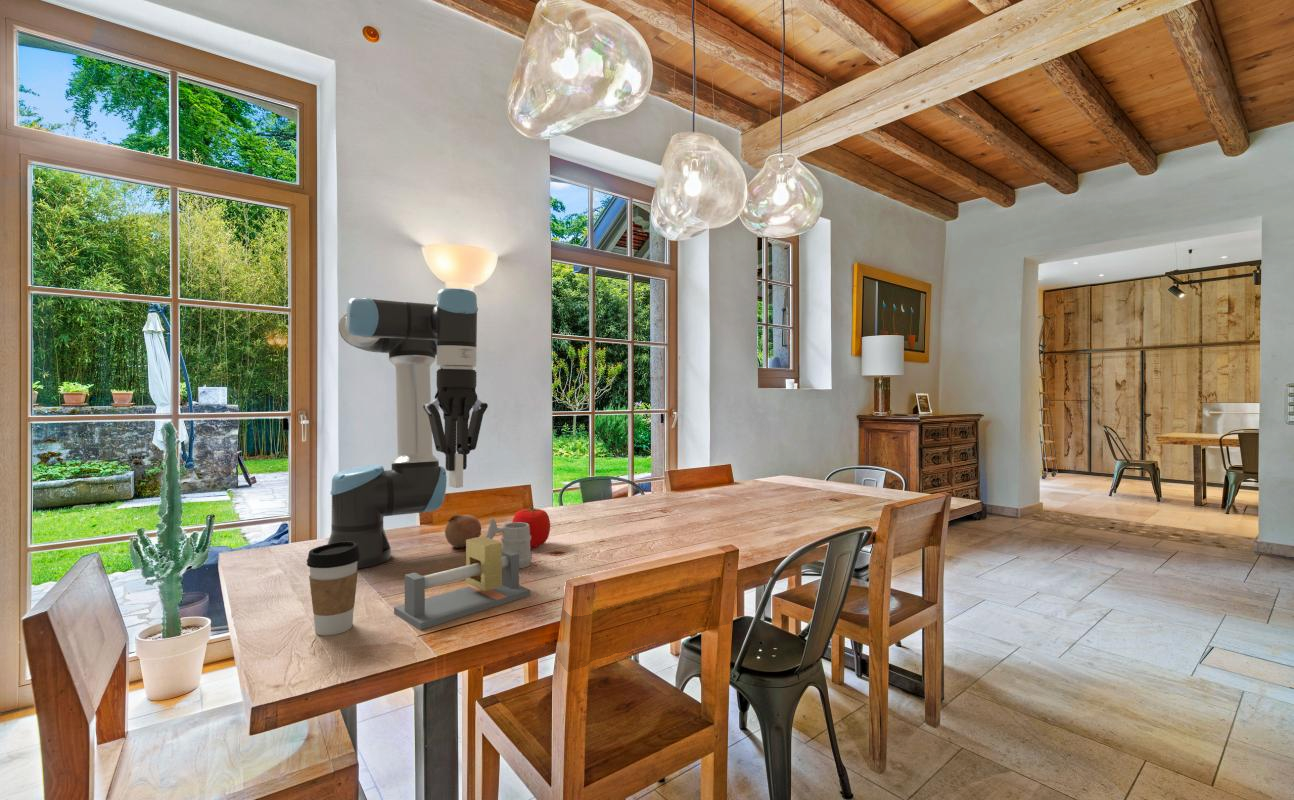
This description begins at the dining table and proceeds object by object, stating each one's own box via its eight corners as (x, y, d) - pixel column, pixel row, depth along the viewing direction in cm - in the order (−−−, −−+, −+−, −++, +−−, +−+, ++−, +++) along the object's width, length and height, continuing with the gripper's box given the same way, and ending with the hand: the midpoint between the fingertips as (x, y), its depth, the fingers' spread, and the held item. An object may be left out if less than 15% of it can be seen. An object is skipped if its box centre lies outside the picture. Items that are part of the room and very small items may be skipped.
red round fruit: (512, 542, 161) (512, 504, 161) (549, 540, 163) (550, 503, 163) (510, 552, 151) (510, 512, 151) (550, 551, 153) (550, 511, 153)
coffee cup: (367, 628, 103) (367, 546, 103) (316, 643, 97) (316, 556, 97) (349, 615, 109) (349, 537, 109) (300, 629, 103) (299, 546, 102)
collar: (465, 582, 119) (466, 539, 119) (483, 578, 122) (483, 536, 122) (484, 591, 114) (484, 546, 114) (501, 586, 117) (502, 542, 117)
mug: (535, 567, 139) (535, 518, 139) (485, 573, 134) (485, 522, 134) (528, 558, 146) (528, 512, 146) (480, 564, 141) (481, 515, 141)
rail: (394, 613, 110) (394, 571, 110) (501, 582, 128) (501, 546, 128) (420, 630, 103) (420, 585, 103) (530, 595, 120) (530, 556, 120)
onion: (450, 560, 154) (432, 529, 151) (462, 541, 163) (445, 512, 160) (481, 549, 152) (464, 518, 150) (491, 531, 161) (475, 501, 159)
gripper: (434, 367, 105) (433, 493, 106) (496, 369, 115) (494, 485, 116) (416, 367, 111) (415, 488, 111) (476, 369, 120) (475, 480, 121)
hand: (456, 486), depth 114 cm, fingers closed
